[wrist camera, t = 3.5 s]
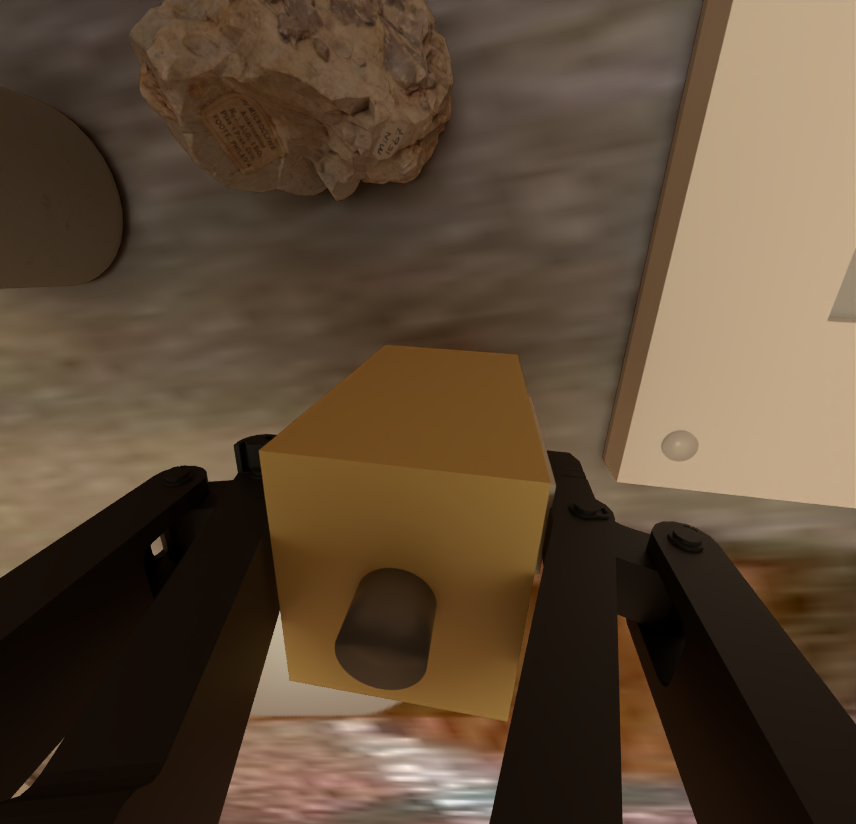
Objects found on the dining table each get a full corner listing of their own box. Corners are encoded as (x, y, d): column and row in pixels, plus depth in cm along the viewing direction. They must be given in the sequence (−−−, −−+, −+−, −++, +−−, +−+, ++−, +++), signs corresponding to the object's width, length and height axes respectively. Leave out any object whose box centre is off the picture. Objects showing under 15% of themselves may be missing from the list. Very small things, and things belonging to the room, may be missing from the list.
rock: (462, 177, 23) (520, -83, 13) (342, 321, 19) (303, 105, 10) (331, 101, 23) (298, -198, 14) (191, 226, 20) (14, -65, 10)
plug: (402, 331, 18) (214, 487, 6) (513, 338, 17) (563, 531, 5) (400, 448, 20) (262, 738, 8) (498, 459, 20) (510, 790, 7)
